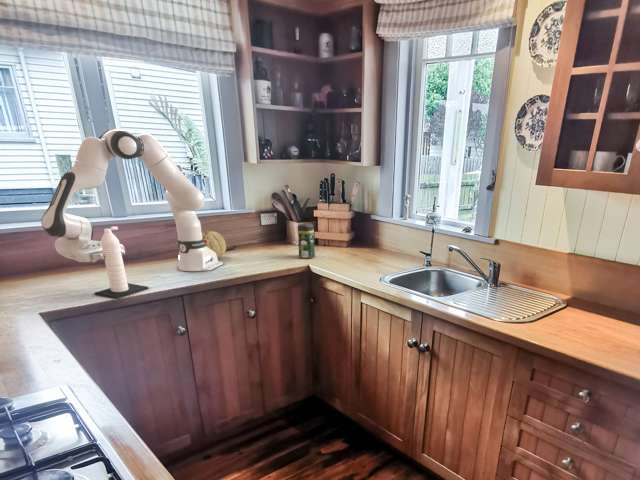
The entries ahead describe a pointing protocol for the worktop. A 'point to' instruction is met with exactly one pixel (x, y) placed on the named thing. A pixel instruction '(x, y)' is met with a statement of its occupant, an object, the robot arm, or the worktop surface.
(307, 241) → the pickle jar
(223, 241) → the ribbed yellow melon
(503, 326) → the worktop surface
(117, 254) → the water bottle
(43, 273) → the worktop surface
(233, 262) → the worktop surface
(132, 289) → the mat
